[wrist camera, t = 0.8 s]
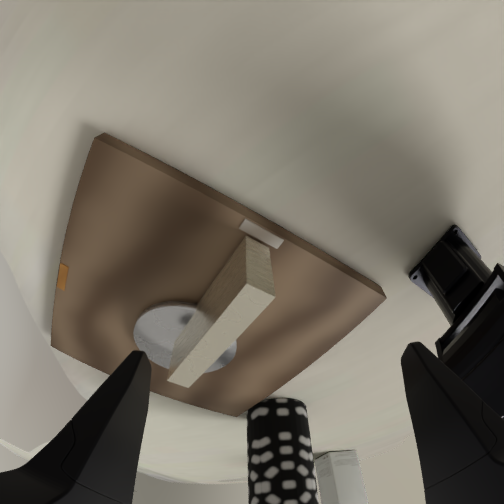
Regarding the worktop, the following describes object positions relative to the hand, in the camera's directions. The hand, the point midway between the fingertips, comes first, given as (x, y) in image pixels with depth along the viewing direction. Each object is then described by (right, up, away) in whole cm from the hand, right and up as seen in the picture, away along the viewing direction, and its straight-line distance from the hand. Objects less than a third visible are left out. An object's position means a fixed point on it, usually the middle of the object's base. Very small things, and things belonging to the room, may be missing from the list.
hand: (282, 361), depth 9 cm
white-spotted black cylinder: (+2, -19, +28) cm, 34 cm away
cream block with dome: (-5, -1, +14) cm, 15 cm away
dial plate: (-7, -3, +17) cm, 19 cm away
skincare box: (+18, -43, +44) cm, 64 cm away
